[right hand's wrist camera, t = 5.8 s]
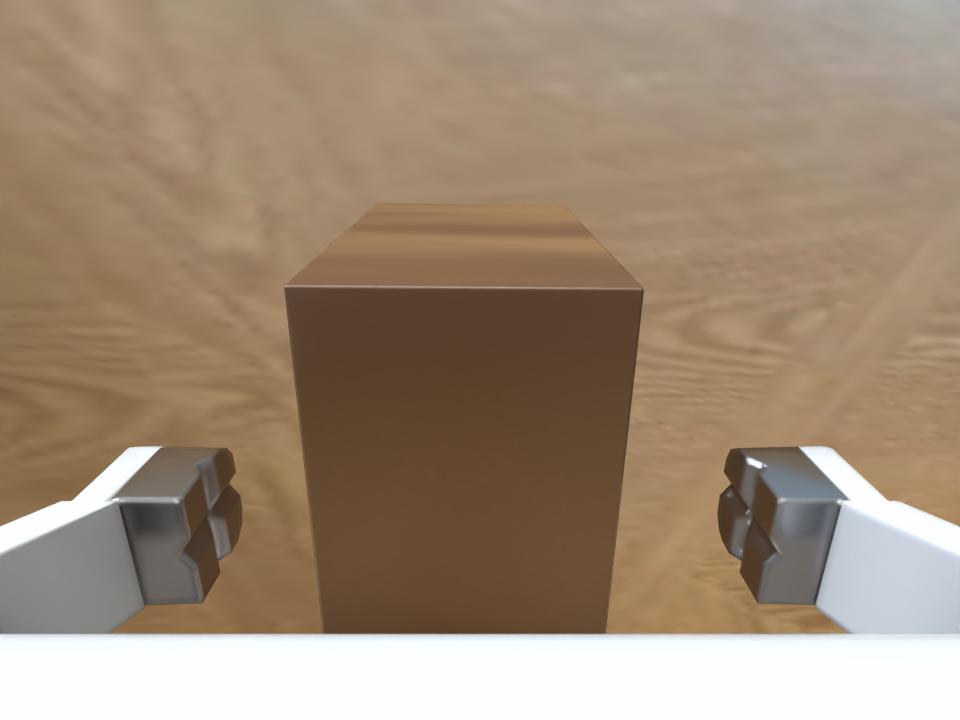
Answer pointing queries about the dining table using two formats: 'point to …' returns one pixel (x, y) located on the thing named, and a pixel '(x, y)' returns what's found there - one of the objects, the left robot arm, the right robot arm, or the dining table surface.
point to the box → (464, 419)
